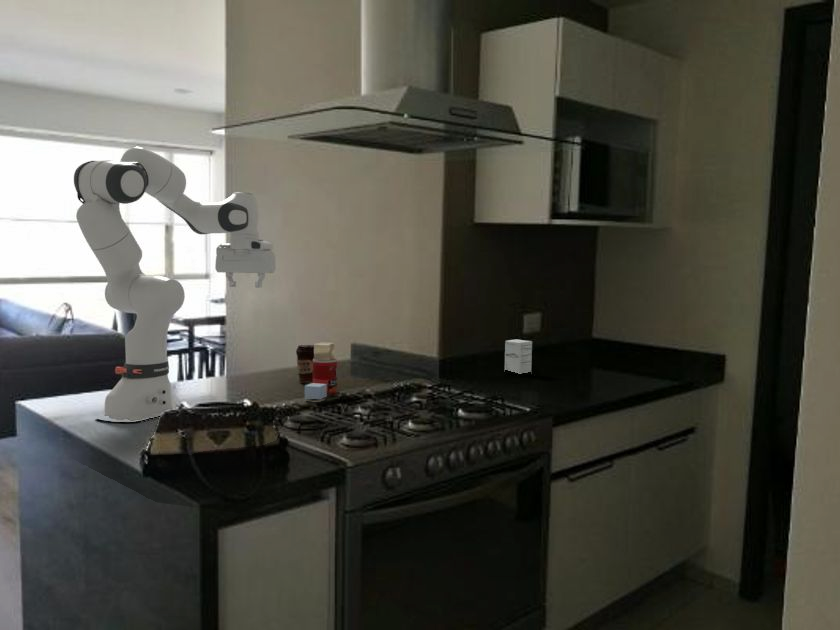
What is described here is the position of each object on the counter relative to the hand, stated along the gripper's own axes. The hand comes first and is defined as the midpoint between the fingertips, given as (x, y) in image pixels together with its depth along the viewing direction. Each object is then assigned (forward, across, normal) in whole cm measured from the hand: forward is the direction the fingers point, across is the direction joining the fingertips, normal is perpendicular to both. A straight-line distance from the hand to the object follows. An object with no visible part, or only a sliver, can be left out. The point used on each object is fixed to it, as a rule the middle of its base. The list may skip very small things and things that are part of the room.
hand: (245, 287), depth 241 cm
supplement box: (+34, +77, +63) cm, 105 cm away
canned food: (+34, +24, +8) cm, 43 cm away
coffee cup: (+34, +11, +22) cm, 42 cm away
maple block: (+23, +24, +8) cm, 34 cm away
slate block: (+34, +27, -5) cm, 44 cm away
